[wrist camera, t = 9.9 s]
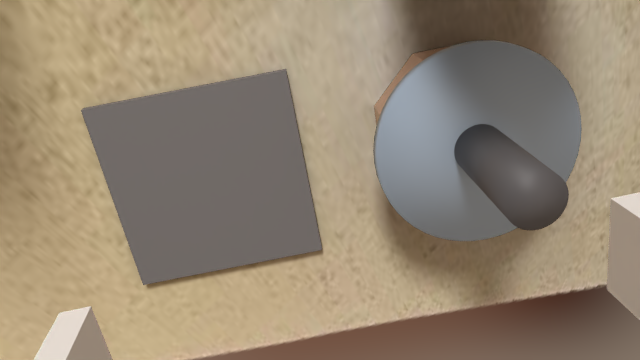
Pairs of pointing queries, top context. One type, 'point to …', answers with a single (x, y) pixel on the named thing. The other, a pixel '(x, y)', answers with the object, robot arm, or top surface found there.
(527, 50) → the lid
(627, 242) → the robot arm
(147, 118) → the mat
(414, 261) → the top surface
